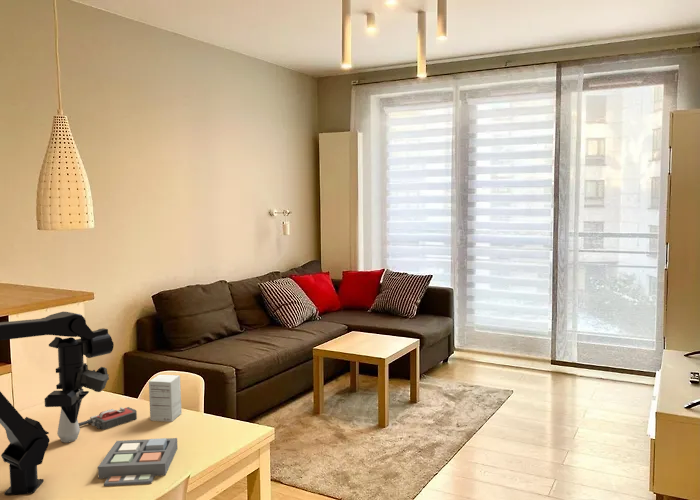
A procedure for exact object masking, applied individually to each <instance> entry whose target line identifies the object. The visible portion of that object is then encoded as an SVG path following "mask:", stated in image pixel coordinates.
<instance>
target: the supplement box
mask: <svg viewBox="0 0 700 500" xmlns="http://www.w3.org/2000/svg"><path fill="white" fill-rule="evenodd" d="M181 387H182V386H181V375H179V374H158V375H157V376H155V377H153V378H152V379H151V380H149V381H148V394H149V396H148V397H149V398H148V399H149V416H150V417H149V418H150V421H151V422H153V421H154V422H166V423H167V422H173V421H174V420H176V419H177V418H178V417H180V416H181V415H182V391H181V390H182V389H181Z"/></svg>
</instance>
